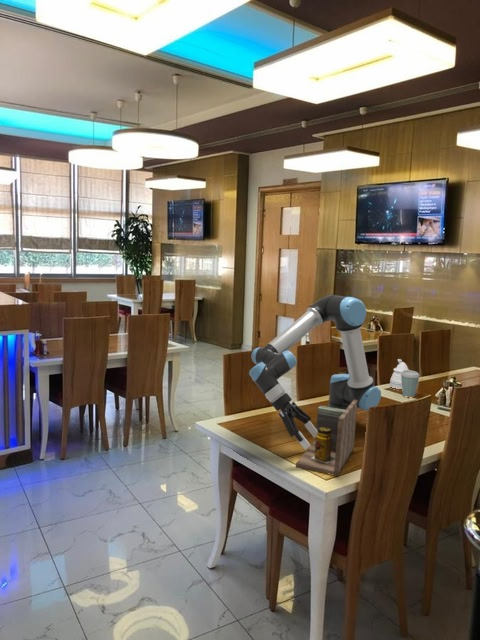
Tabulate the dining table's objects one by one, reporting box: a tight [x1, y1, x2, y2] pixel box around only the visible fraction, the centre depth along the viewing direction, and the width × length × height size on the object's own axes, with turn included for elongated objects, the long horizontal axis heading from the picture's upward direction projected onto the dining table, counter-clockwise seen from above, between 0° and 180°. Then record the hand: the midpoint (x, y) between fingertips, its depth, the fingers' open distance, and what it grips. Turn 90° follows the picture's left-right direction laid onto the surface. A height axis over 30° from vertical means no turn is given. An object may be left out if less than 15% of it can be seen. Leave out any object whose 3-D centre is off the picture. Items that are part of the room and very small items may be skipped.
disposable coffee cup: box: [401, 369, 420, 397], centre depth 291 cm, size 11×11×15 cm
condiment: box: [311, 427, 335, 464], centre depth 191 cm, size 7×8×12 cm
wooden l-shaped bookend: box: [295, 400, 358, 476], centre depth 195 cm, size 28×16×22 cm, turn 156°
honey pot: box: [389, 358, 409, 389], centre depth 310 cm, size 13×13×18 cm
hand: (312, 441), depth 192 cm, fingers open, 13 cm apart
